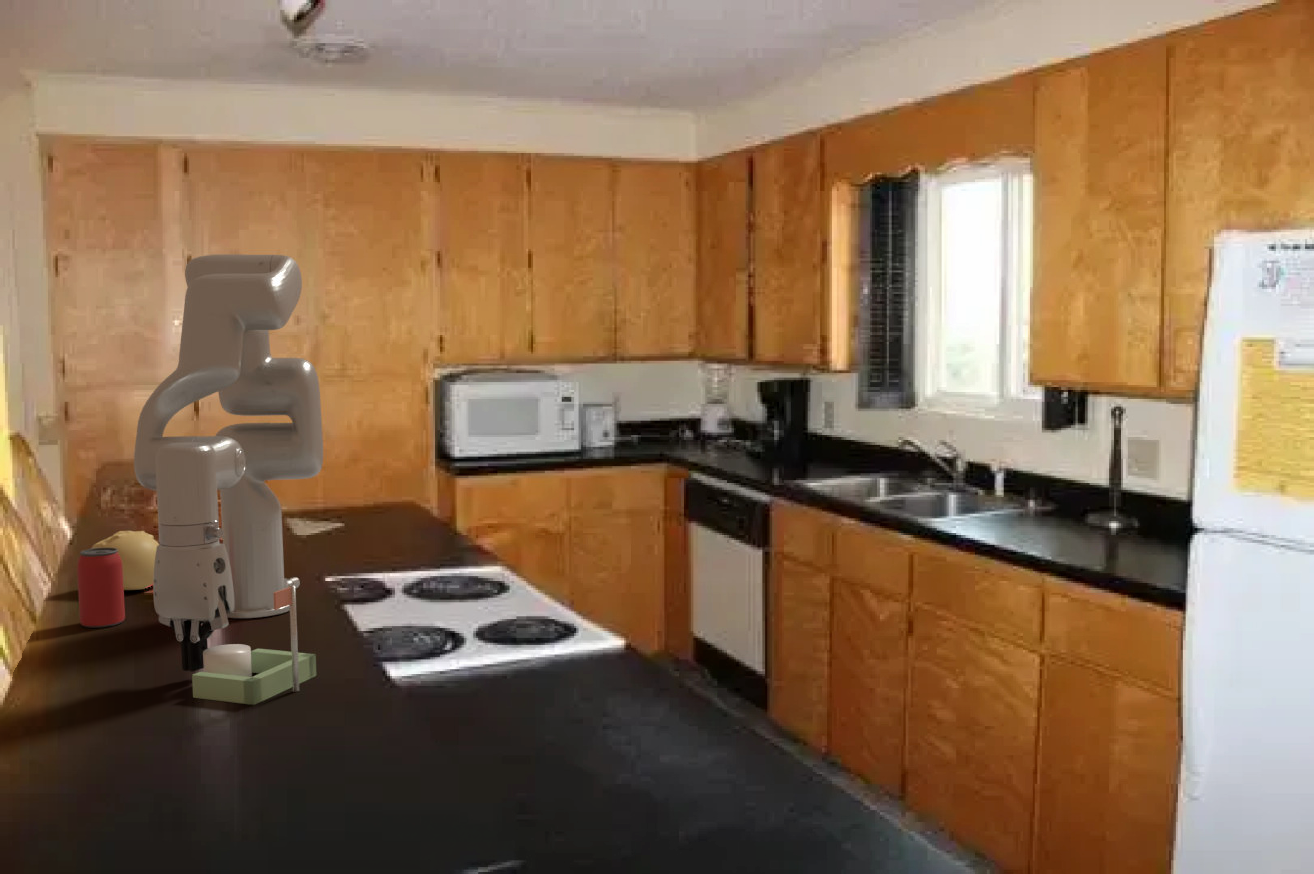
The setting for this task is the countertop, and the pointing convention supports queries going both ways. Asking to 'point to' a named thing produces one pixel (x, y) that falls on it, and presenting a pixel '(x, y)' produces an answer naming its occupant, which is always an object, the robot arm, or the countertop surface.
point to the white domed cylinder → (228, 660)
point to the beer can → (100, 588)
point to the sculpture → (134, 557)
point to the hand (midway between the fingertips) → (195, 668)
